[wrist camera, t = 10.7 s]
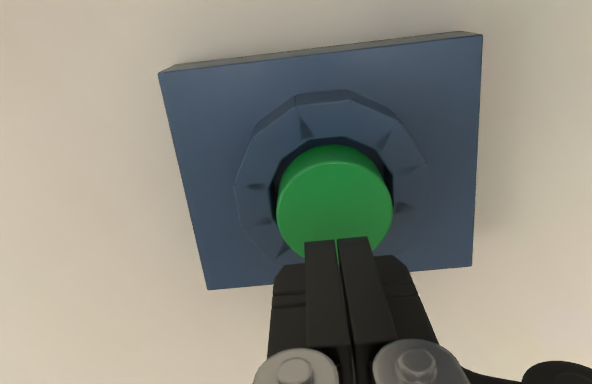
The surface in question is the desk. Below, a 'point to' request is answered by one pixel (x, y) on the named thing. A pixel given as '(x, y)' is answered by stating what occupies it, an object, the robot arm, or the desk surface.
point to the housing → (329, 130)
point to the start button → (332, 198)
